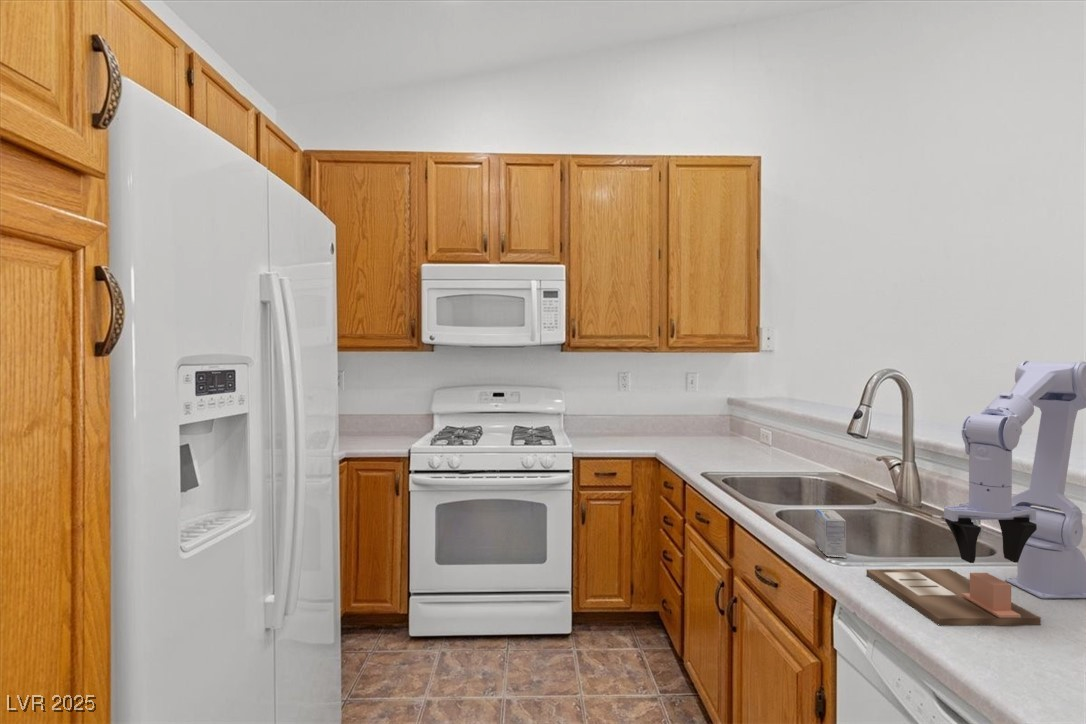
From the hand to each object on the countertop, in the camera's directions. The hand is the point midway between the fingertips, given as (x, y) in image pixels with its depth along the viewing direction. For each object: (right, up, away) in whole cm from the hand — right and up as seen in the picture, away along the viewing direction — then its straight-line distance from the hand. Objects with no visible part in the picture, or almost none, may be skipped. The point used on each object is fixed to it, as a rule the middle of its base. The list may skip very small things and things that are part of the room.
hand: (989, 560), depth 92 cm
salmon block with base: (0, -8, 0) cm, 8 cm away
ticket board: (-3, -9, +6) cm, 12 cm away
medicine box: (-12, -9, +29) cm, 33 cm away
